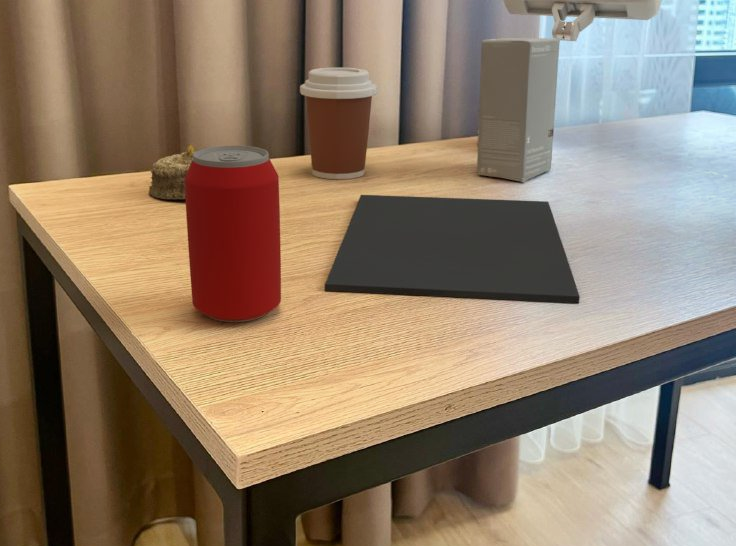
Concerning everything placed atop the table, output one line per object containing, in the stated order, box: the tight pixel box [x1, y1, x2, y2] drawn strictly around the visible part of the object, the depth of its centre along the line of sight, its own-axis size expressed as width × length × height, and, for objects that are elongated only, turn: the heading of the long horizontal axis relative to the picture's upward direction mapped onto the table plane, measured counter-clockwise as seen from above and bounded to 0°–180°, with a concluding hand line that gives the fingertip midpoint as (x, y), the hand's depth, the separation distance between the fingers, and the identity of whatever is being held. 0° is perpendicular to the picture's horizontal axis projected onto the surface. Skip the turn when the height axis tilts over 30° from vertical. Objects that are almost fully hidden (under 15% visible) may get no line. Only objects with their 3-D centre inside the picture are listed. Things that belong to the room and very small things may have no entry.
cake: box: [148, 143, 196, 201], centre depth 100 cm, size 10×10×5 cm
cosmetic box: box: [476, 37, 561, 183], centre depth 106 cm, size 8×7×16 cm
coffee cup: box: [299, 67, 379, 180], centre depth 107 cm, size 9×9×12 cm
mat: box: [324, 194, 581, 304], centre depth 84 cm, size 20×28×1 cm
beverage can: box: [184, 145, 282, 323], centre depth 66 cm, size 7×7×12 cm
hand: (563, 37), depth 114 cm, fingers closed
